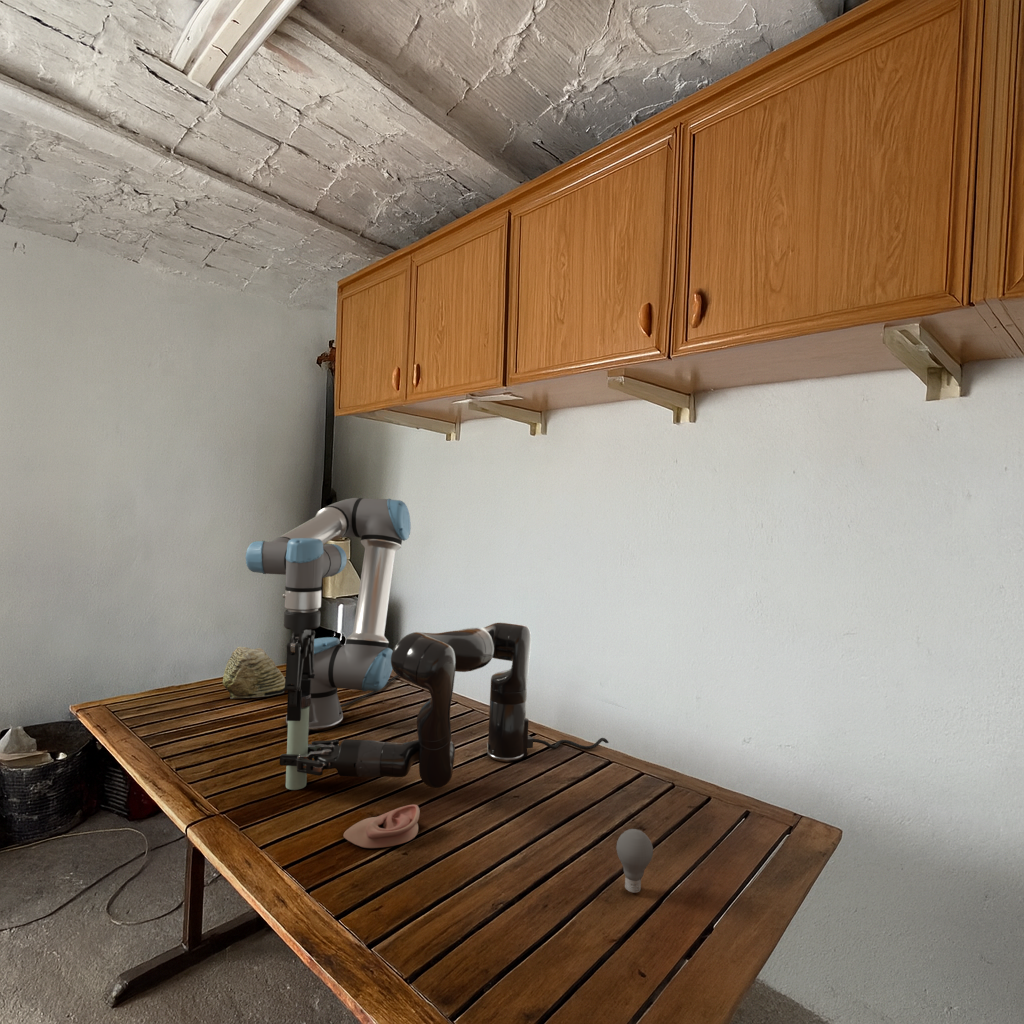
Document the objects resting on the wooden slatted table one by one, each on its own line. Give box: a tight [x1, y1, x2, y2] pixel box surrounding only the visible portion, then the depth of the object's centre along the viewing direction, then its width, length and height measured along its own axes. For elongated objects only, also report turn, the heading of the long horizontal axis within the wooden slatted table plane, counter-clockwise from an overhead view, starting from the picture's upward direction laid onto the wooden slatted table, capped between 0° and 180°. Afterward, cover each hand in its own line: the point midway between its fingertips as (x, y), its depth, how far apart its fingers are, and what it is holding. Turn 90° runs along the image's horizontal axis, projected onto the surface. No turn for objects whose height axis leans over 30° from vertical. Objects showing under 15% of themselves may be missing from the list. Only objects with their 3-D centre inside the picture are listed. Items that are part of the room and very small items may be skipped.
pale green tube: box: [285, 706, 309, 791], centre depth 138 cm, size 4×4×20 cm
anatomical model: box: [342, 804, 421, 849], centre depth 120 cm, size 13×4×12 cm
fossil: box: [222, 646, 286, 699], centre depth 198 cm, size 9×18×15 cm, turn 132°
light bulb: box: [615, 828, 654, 894], centre depth 106 cm, size 6×6×10 cm
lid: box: [286, 691, 311, 708], centre depth 138 cm, size 5×5×2 cm
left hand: (298, 714), depth 138 cm, fingers open, 7 cm apart
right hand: (284, 755), depth 138 cm, fingers closed on pale green tube, 4 cm apart
